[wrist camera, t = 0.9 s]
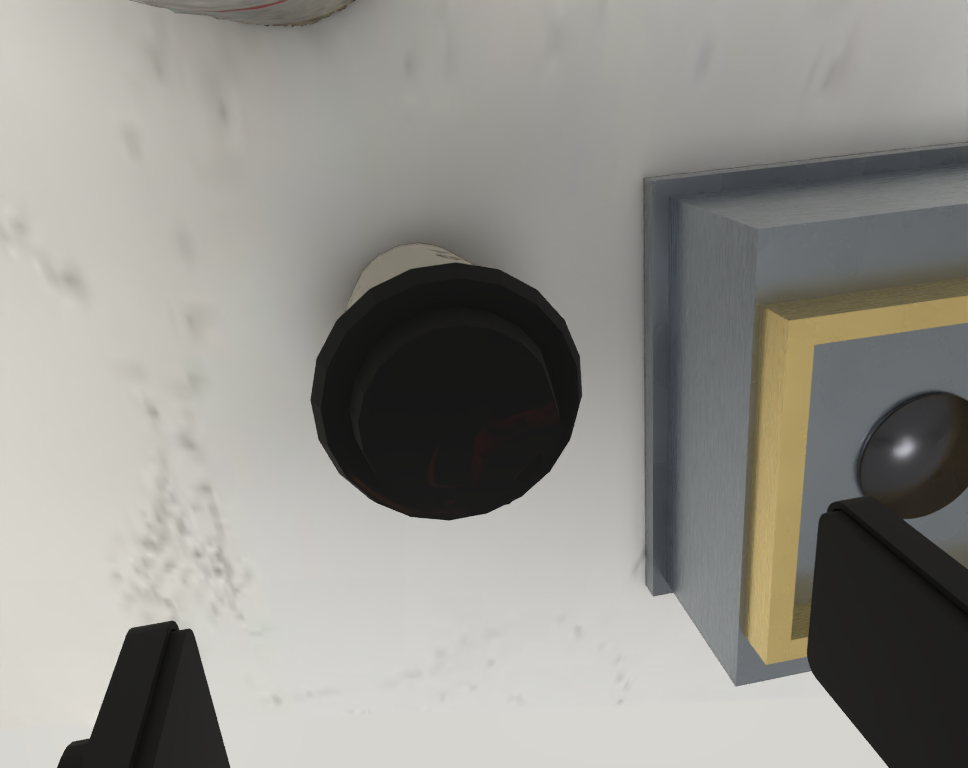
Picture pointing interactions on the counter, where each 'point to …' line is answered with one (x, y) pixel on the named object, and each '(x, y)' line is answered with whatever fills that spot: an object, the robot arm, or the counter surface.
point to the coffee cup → (445, 385)
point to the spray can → (256, 10)
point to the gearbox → (799, 379)
